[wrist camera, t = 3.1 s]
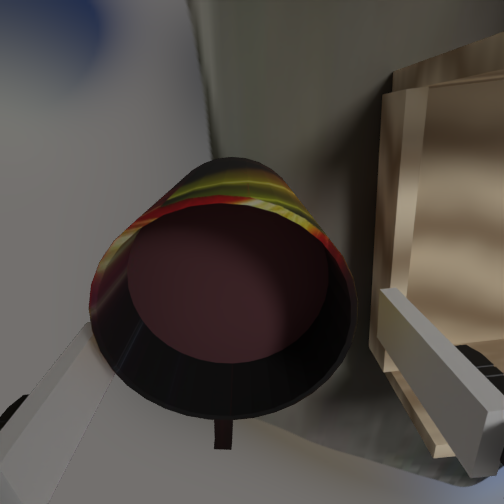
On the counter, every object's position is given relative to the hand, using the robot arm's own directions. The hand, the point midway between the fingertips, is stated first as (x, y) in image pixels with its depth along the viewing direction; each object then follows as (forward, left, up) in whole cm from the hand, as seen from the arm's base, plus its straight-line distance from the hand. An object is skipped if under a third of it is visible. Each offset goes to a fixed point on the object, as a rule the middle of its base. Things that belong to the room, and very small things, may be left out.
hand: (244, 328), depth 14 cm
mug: (0, 0, -9) cm, 9 cm away
